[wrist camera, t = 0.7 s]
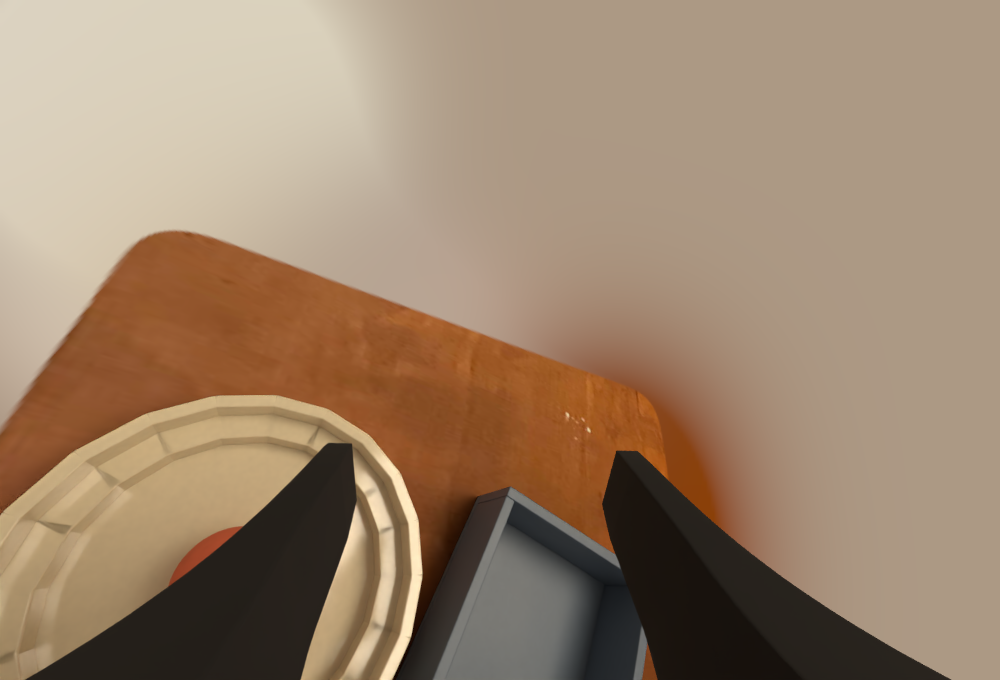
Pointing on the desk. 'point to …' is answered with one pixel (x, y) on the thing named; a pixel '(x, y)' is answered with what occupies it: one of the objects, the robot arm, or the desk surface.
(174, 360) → the desk surface
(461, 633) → the bin
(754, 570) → the robot arm
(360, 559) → the bowl
